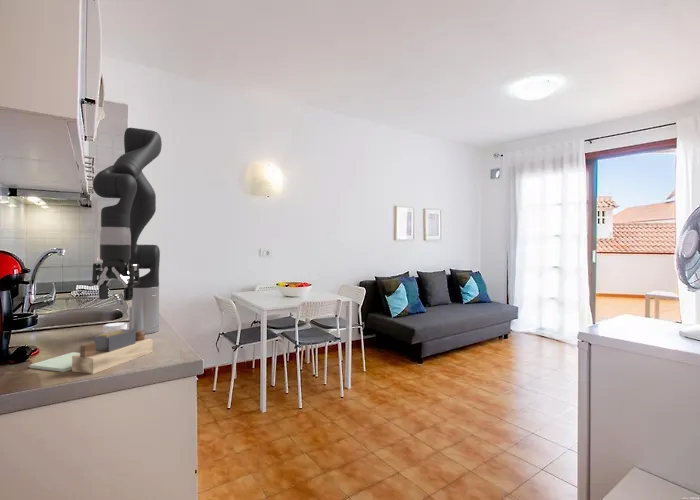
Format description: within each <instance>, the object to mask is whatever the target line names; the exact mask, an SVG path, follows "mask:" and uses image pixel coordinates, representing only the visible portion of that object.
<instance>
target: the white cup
mask: <svg viewBox="0 0 700 500" xmlns="http://www.w3.org/2000/svg"><path fill="white" fill-rule="evenodd" d="M102 328H103V329H102V330H103V333H106V332H110V331H114V330H121V329H126V330H128V322H123V321H122V322H110V323H106V324H103V325H102Z"/></svg>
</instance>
